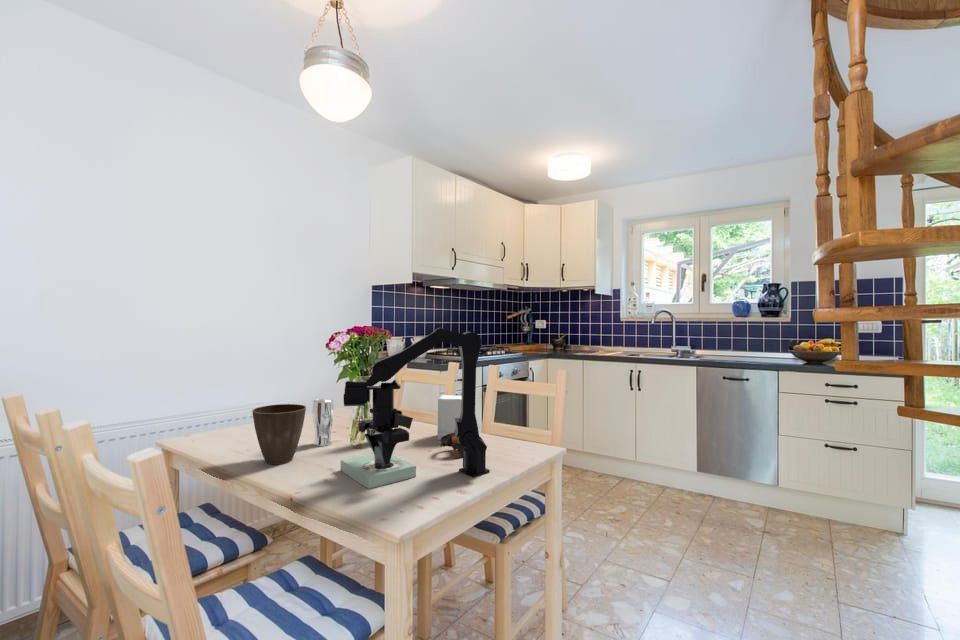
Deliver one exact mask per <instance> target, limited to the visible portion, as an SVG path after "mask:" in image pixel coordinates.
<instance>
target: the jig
mask: <svg viewBox="0 0 960 640" xmlns="http://www.w3.org/2000/svg"><path fill="white" fill-rule="evenodd" d="M340 471H341V472H342V471H343V472H342V473H344V474H345V473H346V474H345V475H347V474H348V475H349V476H348V475H347V476H348V477H350V478H351V477H352V479H353V480H355V481H356V480H357V481H356V482H357V483H360V485H362V484H363V485H362V486H363V487H365V488H367V489H368V490H369V489H374V488H377V487H381V486H385V485H388V484H393V483H397V482H400V481H404V480H408V479H412V478H416V477H417V465H415V464H413V463H411V462H409V461H407V460H405V459H402V458H401V457H398V456H397V455H394V453H392V456H391V468H387V469H375V455H374V453H373V452H372V453H368V454H363V455H357V456H351V457H348V458H343V459H340Z"/></svg>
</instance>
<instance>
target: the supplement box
mask: <svg viewBox="0 0 960 640" xmlns="http://www.w3.org/2000/svg"><path fill="white" fill-rule="evenodd" d="M461 400H462V394H461V395H460V394H459V395H458V394H457V395H453V394H452V395H451V394H442V395H441V396H439V397H438V399H437V440H438V441H439V440H440V441H441V438H442V437H443V436H445V435H447V434H450V433H453V432H454V430H455V418H459V417H460V414H461Z"/></svg>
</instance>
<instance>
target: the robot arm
mask: <svg viewBox="0 0 960 640" xmlns="http://www.w3.org/2000/svg"><path fill="white" fill-rule="evenodd" d="M442 343H445V344H448V345H453V346H456V347H458V348H459V354H460V358H461V364H462V365H461V366H462V367H461V369H462V370H461V395H462V400H461V414H460V417H459V418H455V430H454V432H455V434H456V437H458V439H459V442H460V444H461V445H462V446H464V447H466V448H463V456H462V467H461V468H458V471H459V472H461V473H464V474H466V475H468V476H470V477H476V476H480V475H483V474H487V473H490V472H491V470H490V469H488V468H486V467H487V466H486V464H487V463H486V462H487V461H486V457H487V456H486V454H487V453H486V452H487V448H488V446H487V445H486V443H485V441H484V439H483V438H482V437H481V436H480V433H479V425H478V421H477V416H476V389H477V388H476V386H477V385H476V384H477V363H478V359H479V357H480V353H481V348H482V337H480V336H479V334H478V333H476V332H473V331H472V332H471V331H465V332H463V333H461V332H456V331H452V330H448V329H445V328H443V327H438V328H436V329H435V330H433V332H431V333H429V334H428V335H426V336H424V337H422V338H421V339H419V340H418V341H416V342H415V343H413V344H411V345H409V346H408V347H406V348H405V349H402V350H401V351H399V352H397V353H396V352H395V353H394V354H391V355H389V356H386V357H384V358H380V359H379V360H377V361H376V362H375V363H374V364H373V366H372V369H371V373H372V374H371V375H370V376H369V377H367V378H366V381H365V380H361V381H360V380H359V381H353V380H346V381H345V383H344V384H345V385H344V391H343V406H344V407H364V406H365V407H366V406H367V404H368V403H370V402H371V395H372V408H369V413H370V414H372V415H371V417H372V418H371V419H366V420H365V419H364V420H361V421H360V422H359V424H358V431H359V432H360V433H364V437H365V438H366V440H367V442H368V445H369V447H370V448H371V451H372V453H374V455H375V445H377V444H379V446H380V450H381V453H382V457H383V460H384V463H385V464H389V462H390V459H391V456H392V454H394V450H395V447H396V445H397V444H399V443H404V442H409V441H410V433H409V431H408V430H407V429H409V430H410V429H411V427H412V422H413V419H414V417H411V416H407V415H405V414H404V415H403V411H402V410H399V409H397V408H395V405H394V404H395V399H394V398H395V396H394V395H395V390H400V389H401V384H399V383H398V381H397V380H396V379H393V381H391V382H387V381H389V380H391V379H392V378H393V377H394V376H395V375H396V374H398V373H399V372H400V370H402V369H403V368H404V367H405V366H406V365H408V364H409V363H411V362H412V361H414V360H415V359H417V358H419V357H420V356H422V355H423V354H425V353H427V352H428V351H431V349H433V348H435V347H437V346H438V345H441V344H442ZM378 383H380V385H381V386H379V385H377V384H378ZM371 391H372V394H371ZM402 427H403V428H402ZM404 428H406V429H404ZM365 432H366V433H365Z"/></svg>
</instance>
